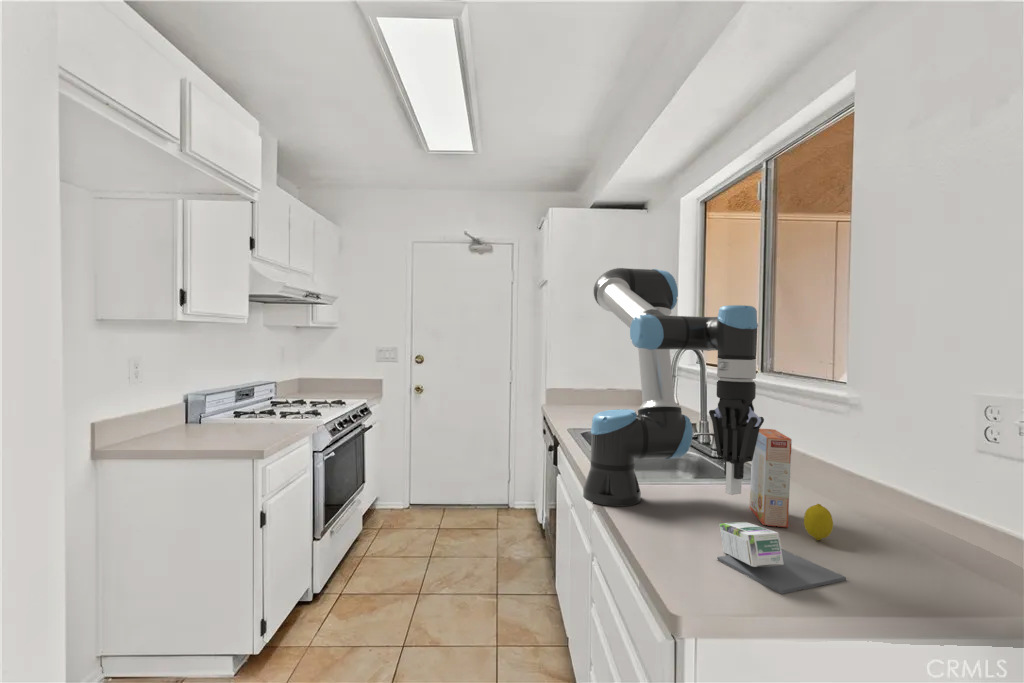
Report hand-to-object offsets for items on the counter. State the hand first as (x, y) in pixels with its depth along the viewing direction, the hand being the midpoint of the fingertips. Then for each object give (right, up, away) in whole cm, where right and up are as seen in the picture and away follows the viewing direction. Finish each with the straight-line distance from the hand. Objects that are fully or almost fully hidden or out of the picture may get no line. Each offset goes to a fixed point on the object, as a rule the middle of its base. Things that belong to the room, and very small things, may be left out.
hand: (733, 493), depth 115 cm
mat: (+4, -12, -11) cm, 16 cm away
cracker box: (+16, -12, +20) cm, 28 cm away
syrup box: (-1, -8, -2) cm, 9 cm away
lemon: (+20, -12, +5) cm, 24 cm away
